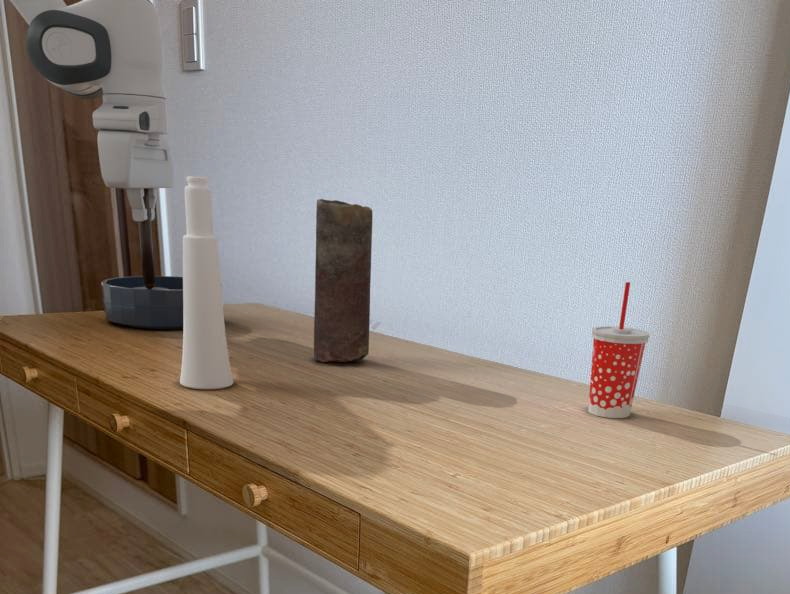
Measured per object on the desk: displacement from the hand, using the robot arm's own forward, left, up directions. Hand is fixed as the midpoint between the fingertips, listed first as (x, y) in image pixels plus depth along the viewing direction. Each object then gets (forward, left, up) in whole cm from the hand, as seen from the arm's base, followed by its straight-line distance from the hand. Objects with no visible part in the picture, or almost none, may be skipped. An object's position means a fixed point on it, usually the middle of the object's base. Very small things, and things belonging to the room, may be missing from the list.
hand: (144, 220), depth 127 cm
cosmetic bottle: (+21, -39, -15) cm, 47 cm away
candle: (+34, -21, -15) cm, 43 cm away
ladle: (0, 0, -13) cm, 13 cm away
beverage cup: (+67, -40, -15) cm, 80 cm away
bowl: (+2, +1, -15) cm, 15 cm away
